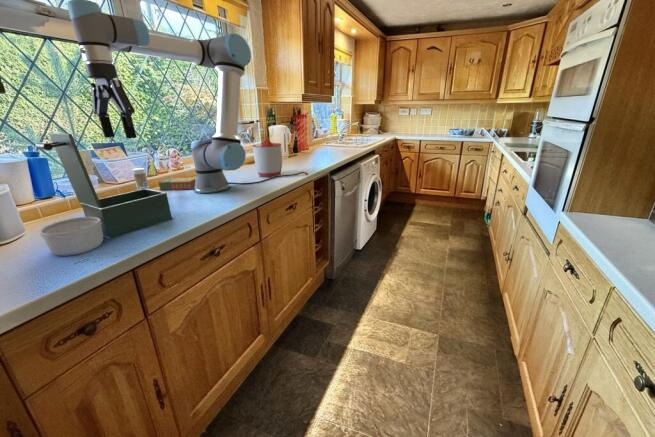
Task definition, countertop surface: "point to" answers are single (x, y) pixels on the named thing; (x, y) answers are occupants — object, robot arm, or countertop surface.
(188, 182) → the carton
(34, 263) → the countertop surface
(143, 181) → the sprinkles bottle
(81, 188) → the bin lid
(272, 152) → the citrus juicer
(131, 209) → the green lidded box
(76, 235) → the ramekin
